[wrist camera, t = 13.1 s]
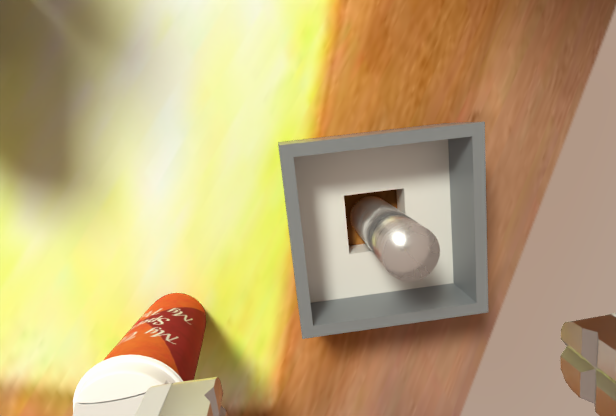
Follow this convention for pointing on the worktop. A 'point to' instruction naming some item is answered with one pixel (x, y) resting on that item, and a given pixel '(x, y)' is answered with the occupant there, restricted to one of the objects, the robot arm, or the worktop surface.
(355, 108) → the worktop surface
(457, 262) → the box
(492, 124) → the worktop surface
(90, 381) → the paper cup
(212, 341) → the worktop surface
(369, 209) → the peg
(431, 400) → the worktop surface
